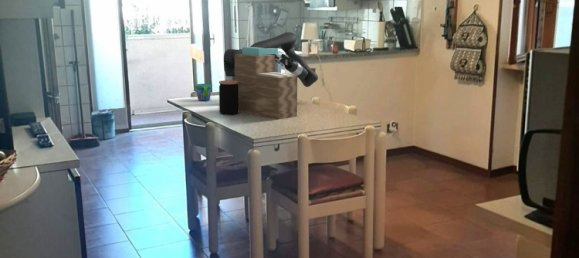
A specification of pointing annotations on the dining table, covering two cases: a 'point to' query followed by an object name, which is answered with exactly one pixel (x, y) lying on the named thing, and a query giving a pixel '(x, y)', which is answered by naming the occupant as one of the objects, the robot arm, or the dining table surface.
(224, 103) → the coffee jar
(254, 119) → the dining table surface
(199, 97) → the snack cup
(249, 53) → the t bar
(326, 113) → the dining table surface
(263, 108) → the step shelf
